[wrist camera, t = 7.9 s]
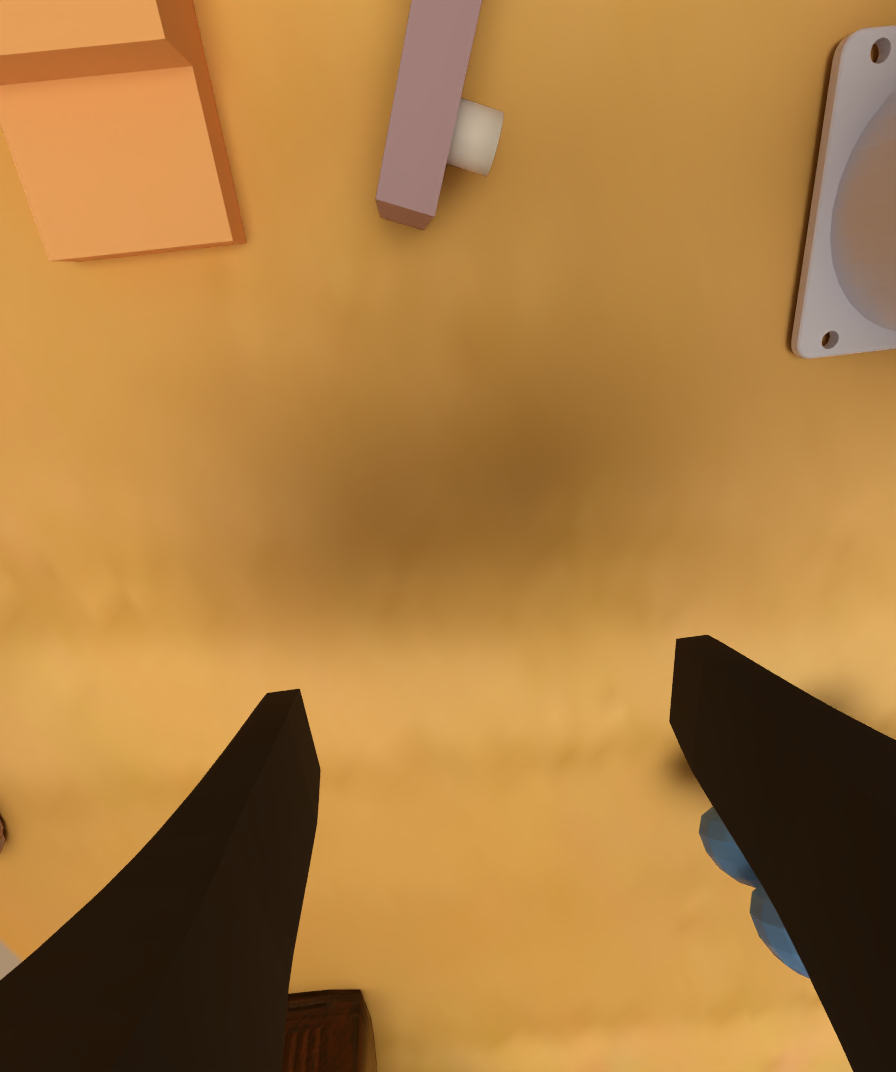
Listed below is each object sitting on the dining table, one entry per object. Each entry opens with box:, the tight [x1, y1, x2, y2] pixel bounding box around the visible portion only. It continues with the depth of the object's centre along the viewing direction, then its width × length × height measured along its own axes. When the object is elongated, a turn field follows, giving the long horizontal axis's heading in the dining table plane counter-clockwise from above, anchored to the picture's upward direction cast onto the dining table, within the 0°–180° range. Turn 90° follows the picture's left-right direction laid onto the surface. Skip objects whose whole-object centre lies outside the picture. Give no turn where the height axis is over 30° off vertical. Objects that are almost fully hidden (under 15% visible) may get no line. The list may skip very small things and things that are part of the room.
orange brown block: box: [0, 0, 246, 262], centre depth 13 cm, size 4×9×4 cm, turn 6°
